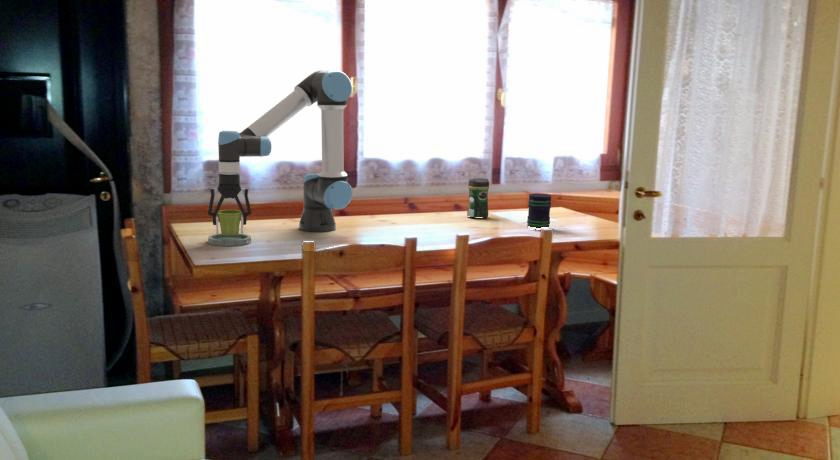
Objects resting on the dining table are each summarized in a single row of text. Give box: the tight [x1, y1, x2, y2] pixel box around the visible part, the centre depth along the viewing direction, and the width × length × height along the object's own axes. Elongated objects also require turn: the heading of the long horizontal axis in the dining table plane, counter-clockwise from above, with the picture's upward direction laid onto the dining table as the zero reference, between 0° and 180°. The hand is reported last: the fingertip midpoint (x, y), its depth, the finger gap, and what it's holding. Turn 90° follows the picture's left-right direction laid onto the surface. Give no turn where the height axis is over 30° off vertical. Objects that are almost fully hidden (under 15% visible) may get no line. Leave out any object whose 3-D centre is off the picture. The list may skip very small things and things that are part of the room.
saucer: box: [207, 232, 252, 247], centre depth 304 cm, size 16×16×2 cm
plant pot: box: [217, 209, 243, 236], centre depth 303 cm, size 9×9×9 cm
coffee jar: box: [466, 177, 490, 218], centre depth 380 cm, size 10×8×19 cm
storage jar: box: [526, 193, 552, 228], centre depth 355 cm, size 10×10×15 cm
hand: (229, 233), depth 303 cm, fingers closed on plant pot, 8 cm apart
